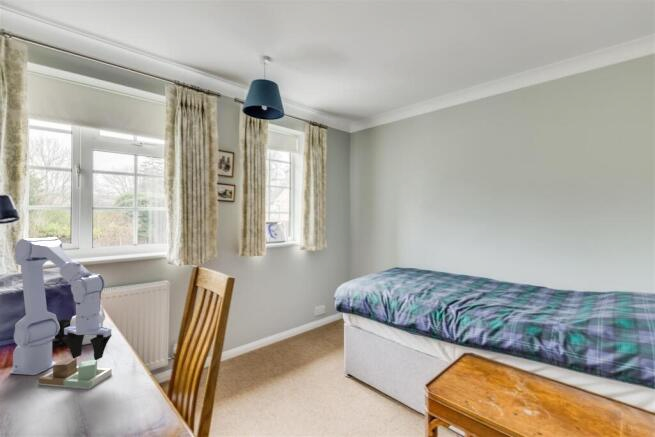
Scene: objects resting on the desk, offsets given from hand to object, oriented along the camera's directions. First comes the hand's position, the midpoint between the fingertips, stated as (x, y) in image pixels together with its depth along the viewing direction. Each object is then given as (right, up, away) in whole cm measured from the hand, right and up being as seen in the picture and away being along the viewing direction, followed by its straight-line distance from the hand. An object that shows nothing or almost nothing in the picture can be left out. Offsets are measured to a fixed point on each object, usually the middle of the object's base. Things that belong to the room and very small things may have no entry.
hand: (87, 357), depth 91 cm
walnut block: (-8, -7, +1) cm, 10 cm away
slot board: (-4, -7, 0) cm, 8 cm away
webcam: (-32, -7, +26) cm, 42 cm away
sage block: (0, -7, 0) cm, 7 cm away
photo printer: (-22, -7, +27) cm, 36 cm away
